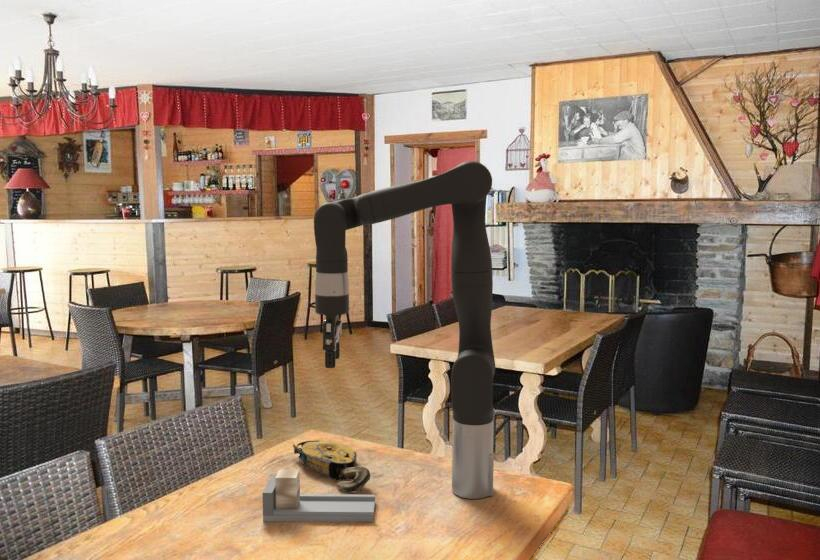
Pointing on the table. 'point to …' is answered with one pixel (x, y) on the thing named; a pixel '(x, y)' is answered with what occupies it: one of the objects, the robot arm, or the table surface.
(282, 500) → the block
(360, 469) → the pulley block
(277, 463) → the table surface
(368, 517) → the rail
